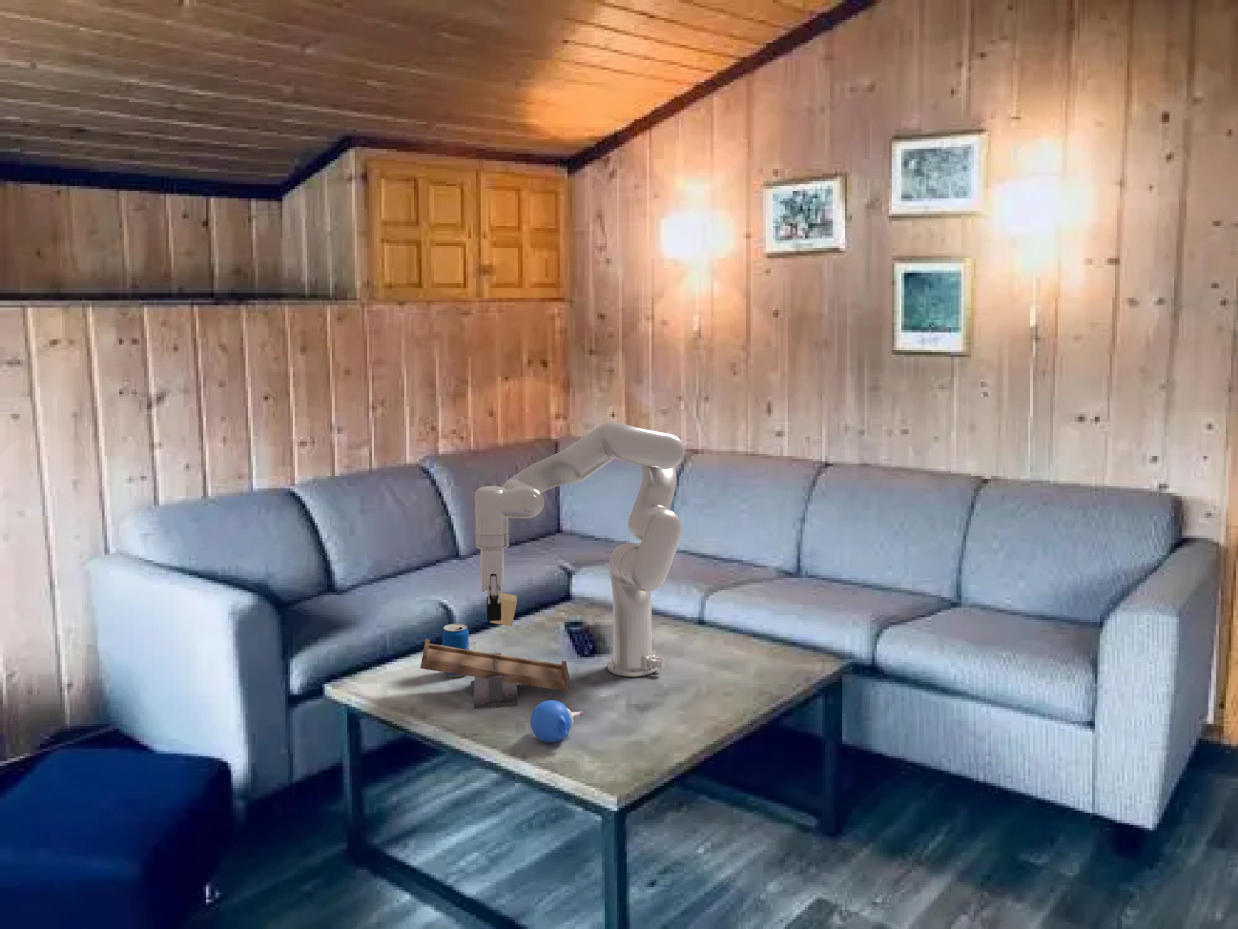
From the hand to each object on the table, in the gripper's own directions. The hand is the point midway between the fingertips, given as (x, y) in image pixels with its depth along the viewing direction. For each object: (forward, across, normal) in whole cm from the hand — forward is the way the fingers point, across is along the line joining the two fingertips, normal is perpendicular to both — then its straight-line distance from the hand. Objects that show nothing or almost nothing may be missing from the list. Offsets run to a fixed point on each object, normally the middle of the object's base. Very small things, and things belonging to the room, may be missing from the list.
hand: (494, 616), depth 245 cm
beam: (+13, 0, 0) cm, 13 cm away
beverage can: (+19, -14, -9) cm, 26 cm away
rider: (+1, 0, +2) cm, 2 cm away
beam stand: (+19, 0, 0) cm, 19 cm away
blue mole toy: (+19, +28, +13) cm, 36 cm away
